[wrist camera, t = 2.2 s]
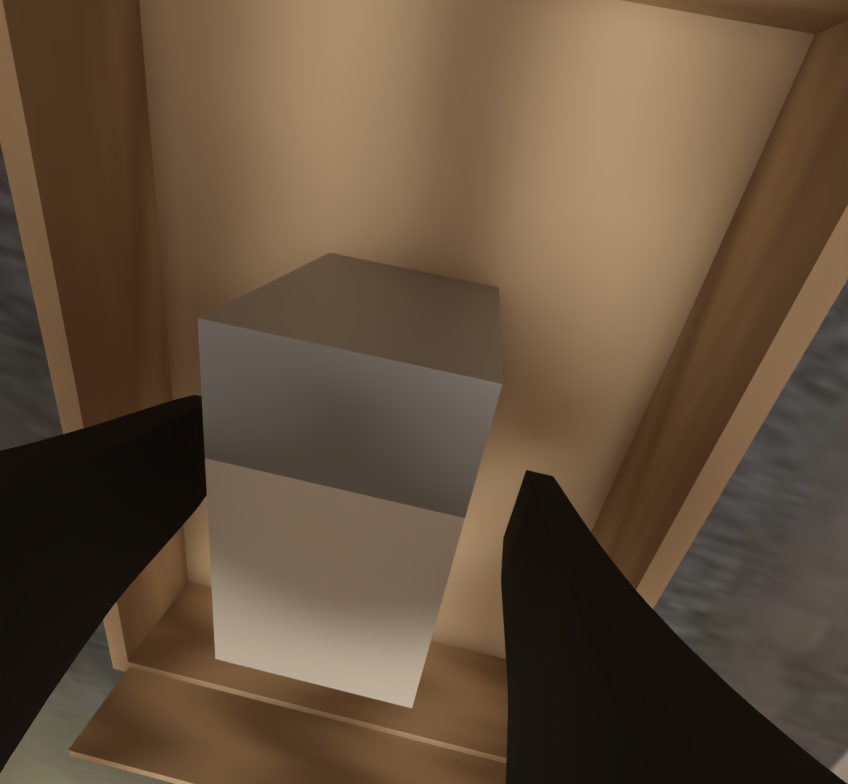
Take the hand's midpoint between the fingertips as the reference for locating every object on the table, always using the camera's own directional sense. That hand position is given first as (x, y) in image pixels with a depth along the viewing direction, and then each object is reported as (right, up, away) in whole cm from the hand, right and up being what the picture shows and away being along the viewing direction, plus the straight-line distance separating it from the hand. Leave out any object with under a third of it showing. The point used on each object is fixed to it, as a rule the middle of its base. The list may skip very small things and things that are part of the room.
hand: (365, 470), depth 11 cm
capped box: (0, +1, +3) cm, 3 cm away
